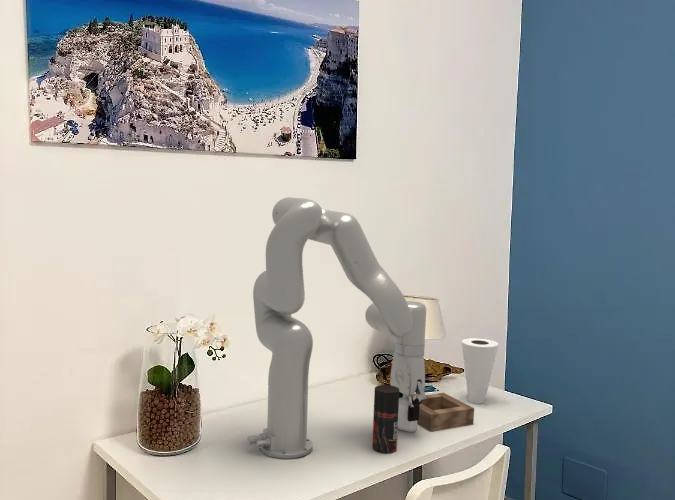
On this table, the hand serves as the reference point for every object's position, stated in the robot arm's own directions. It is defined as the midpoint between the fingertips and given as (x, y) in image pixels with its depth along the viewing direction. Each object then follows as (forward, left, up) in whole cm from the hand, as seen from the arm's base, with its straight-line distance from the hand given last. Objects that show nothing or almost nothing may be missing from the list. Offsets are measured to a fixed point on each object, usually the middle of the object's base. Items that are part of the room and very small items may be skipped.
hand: (406, 415), depth 176 cm
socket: (+12, +3, -3) cm, 13 cm away
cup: (+32, +11, -4) cm, 34 cm away
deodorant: (-12, -9, -4) cm, 15 cm away
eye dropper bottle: (0, 0, -4) cm, 4 cm away
